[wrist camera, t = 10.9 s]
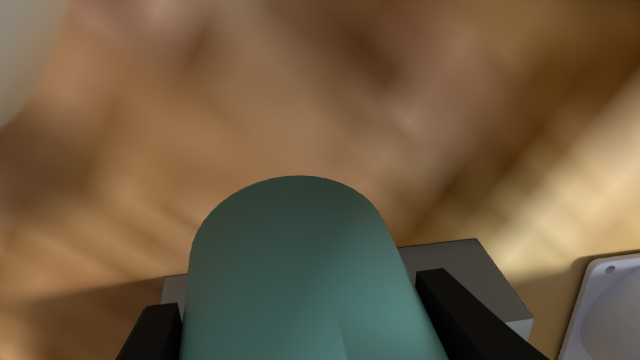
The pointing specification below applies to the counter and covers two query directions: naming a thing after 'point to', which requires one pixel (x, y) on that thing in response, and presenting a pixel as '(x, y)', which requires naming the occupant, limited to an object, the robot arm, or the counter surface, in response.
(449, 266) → the grey tote
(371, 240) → the teal capsule
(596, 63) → the counter surface
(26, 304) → the counter surface
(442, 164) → the counter surface
